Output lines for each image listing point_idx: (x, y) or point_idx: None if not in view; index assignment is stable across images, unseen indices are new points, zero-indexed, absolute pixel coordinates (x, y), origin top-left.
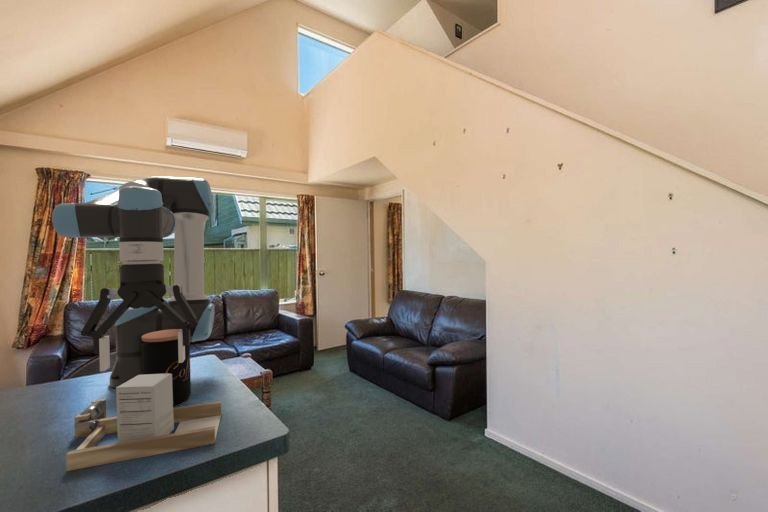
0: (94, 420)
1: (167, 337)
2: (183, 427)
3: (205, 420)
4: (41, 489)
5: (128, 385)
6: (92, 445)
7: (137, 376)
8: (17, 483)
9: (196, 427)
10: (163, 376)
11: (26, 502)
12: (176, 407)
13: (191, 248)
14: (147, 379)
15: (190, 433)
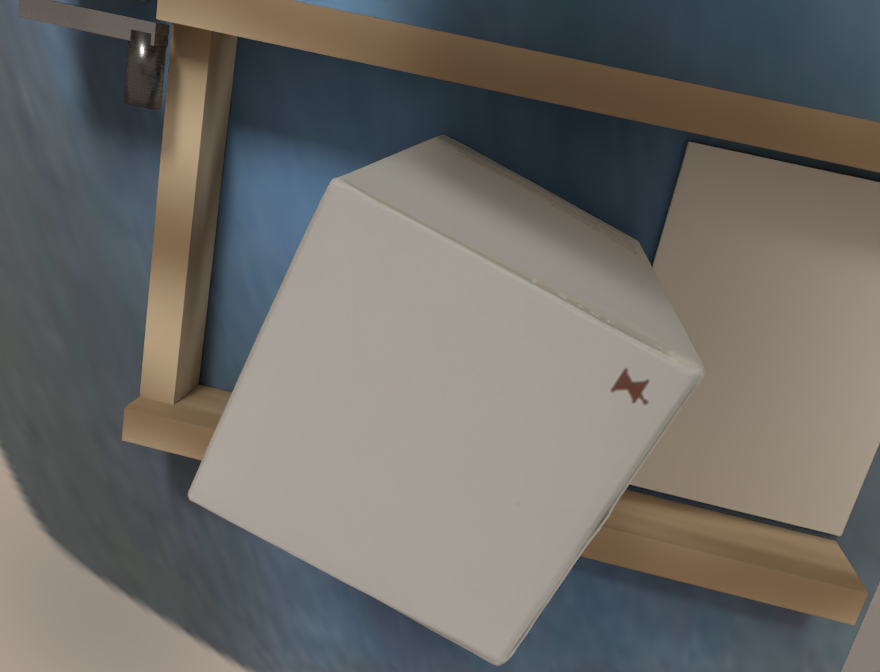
0: (131, 26)
1: None
2: (697, 261)
3: (852, 235)
4: (118, 501)
5: (288, 521)
6: (208, 227)
7: (333, 256)
8: (4, 390)
9: (774, 314)
10: (608, 448)
11: (102, 565)
12: (686, 84)
13: None
14: (447, 460)
15: (717, 588)
